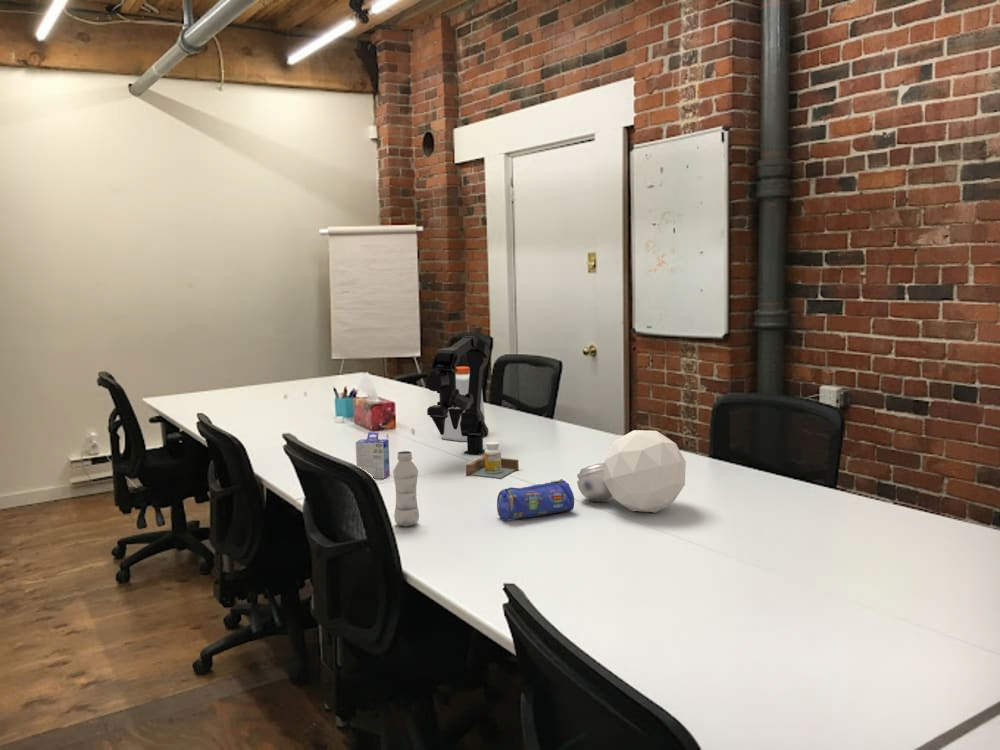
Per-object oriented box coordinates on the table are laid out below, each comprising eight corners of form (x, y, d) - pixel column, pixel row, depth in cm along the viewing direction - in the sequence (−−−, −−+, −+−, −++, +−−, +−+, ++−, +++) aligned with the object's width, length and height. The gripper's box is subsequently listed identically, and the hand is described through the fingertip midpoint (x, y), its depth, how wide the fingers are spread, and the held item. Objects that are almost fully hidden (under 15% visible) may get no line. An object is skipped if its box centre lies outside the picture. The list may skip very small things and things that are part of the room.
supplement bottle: (486, 469, 284) (485, 440, 283) (502, 469, 283) (501, 441, 282) (483, 473, 279) (483, 444, 277) (499, 473, 278) (499, 444, 277)
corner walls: (483, 466, 290) (483, 456, 290) (518, 469, 285) (518, 459, 284) (466, 475, 279) (465, 465, 278) (501, 479, 273) (501, 468, 273)
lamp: (671, 510, 219) (648, 421, 223) (569, 532, 240) (550, 450, 244) (711, 499, 236) (689, 417, 240) (612, 521, 257) (594, 445, 261)
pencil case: (563, 506, 244) (563, 473, 243) (578, 514, 236) (578, 480, 235) (493, 517, 235) (493, 483, 233) (507, 526, 227) (506, 491, 226)
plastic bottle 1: (394, 521, 232) (392, 450, 229) (419, 520, 233) (417, 449, 230) (394, 529, 226) (391, 456, 223) (419, 528, 226) (417, 455, 224)
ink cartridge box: (390, 474, 282) (389, 432, 280) (385, 479, 276) (383, 435, 274) (362, 473, 284) (360, 431, 282) (356, 478, 278) (354, 434, 276)
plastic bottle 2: (490, 435, 338) (488, 365, 334) (468, 443, 326) (466, 370, 322) (459, 432, 346) (457, 363, 342) (436, 439, 334) (434, 368, 330)
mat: (485, 467, 288) (485, 466, 288) (515, 470, 284) (515, 469, 283) (470, 475, 278) (470, 474, 278) (501, 479, 274) (501, 477, 274)
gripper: (455, 392, 276) (456, 439, 278) (481, 383, 292) (482, 428, 294) (425, 390, 280) (427, 436, 283) (452, 382, 297) (454, 426, 299)
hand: (448, 431), depth 290 cm, fingers open, 9 cm apart
